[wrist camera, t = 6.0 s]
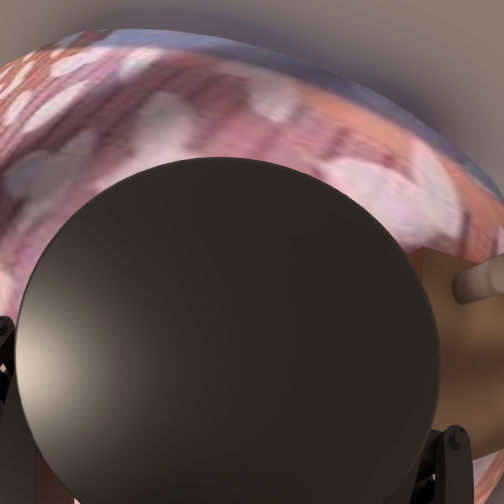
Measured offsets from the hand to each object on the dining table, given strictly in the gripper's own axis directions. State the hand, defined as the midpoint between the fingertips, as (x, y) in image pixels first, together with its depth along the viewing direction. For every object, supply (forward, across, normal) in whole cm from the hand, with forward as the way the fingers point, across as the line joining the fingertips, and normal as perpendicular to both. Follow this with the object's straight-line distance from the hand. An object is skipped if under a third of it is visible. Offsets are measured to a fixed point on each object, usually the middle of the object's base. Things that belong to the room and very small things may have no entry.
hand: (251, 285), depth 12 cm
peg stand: (+1, +16, -4) cm, 17 cm away
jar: (0, 0, -5) cm, 5 cm away
